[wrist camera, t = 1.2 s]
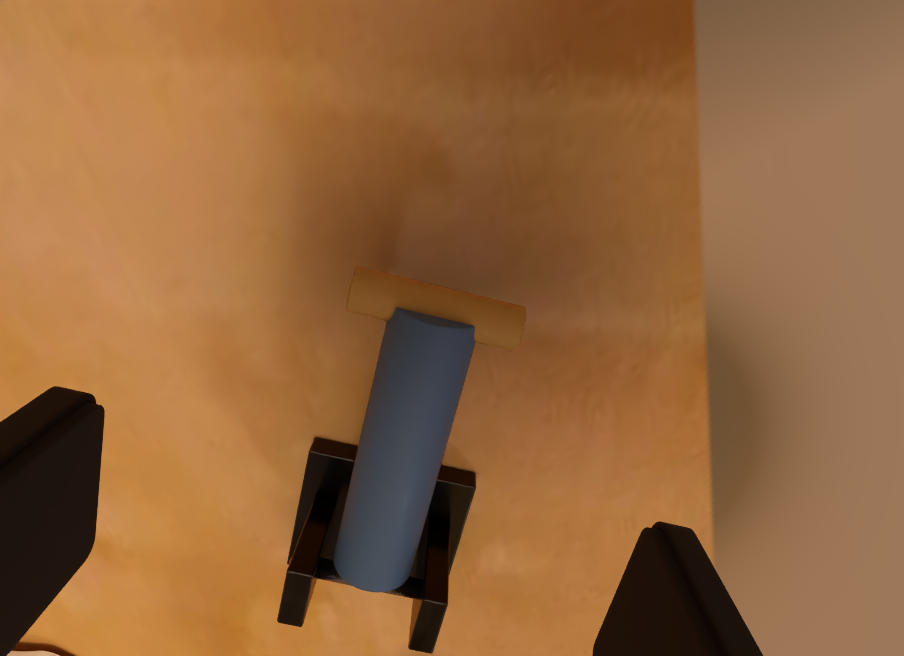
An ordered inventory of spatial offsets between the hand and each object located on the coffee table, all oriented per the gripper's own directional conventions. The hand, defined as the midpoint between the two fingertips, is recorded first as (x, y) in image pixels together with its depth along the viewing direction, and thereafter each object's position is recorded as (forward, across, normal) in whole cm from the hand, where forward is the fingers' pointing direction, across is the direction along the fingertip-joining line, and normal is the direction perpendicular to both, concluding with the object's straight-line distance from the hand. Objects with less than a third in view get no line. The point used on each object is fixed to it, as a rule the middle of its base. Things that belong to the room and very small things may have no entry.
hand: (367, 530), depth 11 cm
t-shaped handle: (+14, -1, +5) cm, 14 cm away
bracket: (+16, -1, +12) cm, 20 cm away
